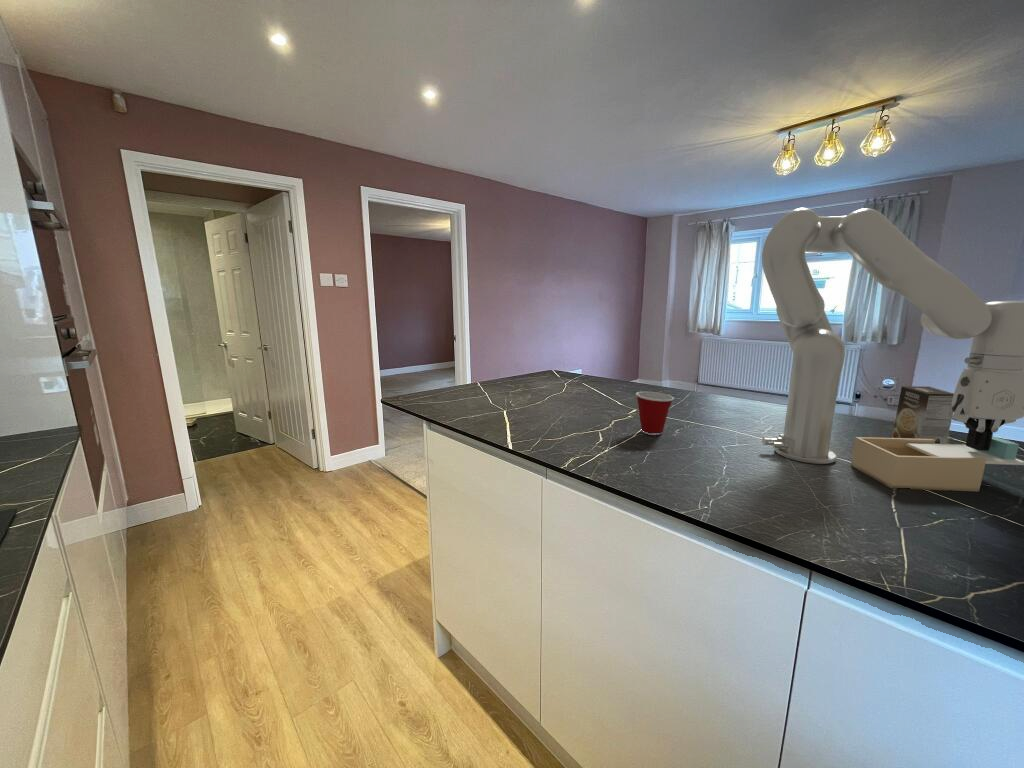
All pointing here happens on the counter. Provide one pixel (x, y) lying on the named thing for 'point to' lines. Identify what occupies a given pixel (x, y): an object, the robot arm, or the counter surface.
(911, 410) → the coffee box
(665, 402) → the plastic cup
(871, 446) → the box
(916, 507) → the counter surface
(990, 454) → the lid
